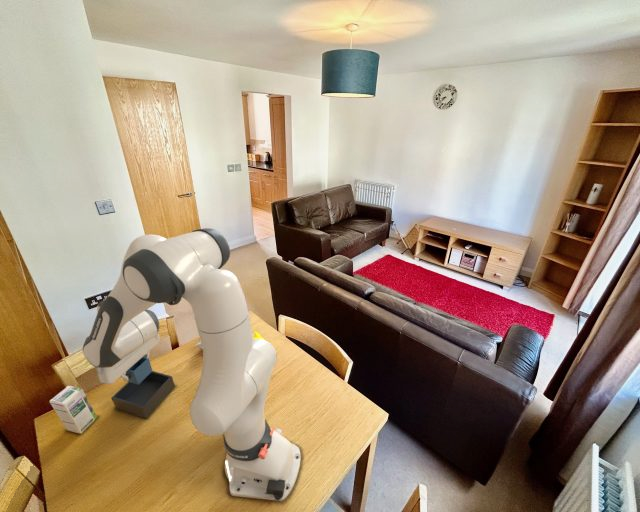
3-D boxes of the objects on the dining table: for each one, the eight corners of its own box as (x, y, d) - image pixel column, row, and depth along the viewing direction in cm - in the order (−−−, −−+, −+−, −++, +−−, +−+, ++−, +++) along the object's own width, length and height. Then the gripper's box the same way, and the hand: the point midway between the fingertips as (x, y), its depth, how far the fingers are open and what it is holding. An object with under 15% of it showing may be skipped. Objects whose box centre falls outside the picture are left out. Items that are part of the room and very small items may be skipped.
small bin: (152, 370, 97) (148, 358, 94) (138, 384, 91) (133, 372, 89) (138, 366, 98) (134, 354, 95) (124, 380, 93) (119, 367, 90)
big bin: (175, 386, 104) (172, 376, 101) (146, 418, 92) (142, 408, 90) (146, 378, 107) (143, 368, 104) (115, 408, 95) (111, 397, 93)
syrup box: (81, 434, 87) (64, 404, 81) (66, 430, 88) (48, 400, 82) (97, 417, 92) (83, 388, 86) (83, 414, 93) (67, 384, 87)
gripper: (102, 366, 78) (116, 399, 84) (158, 322, 96) (166, 351, 102) (85, 361, 79) (100, 393, 85) (143, 318, 97) (152, 348, 103)
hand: (137, 370), depth 94 cm, fingers closed on small bin, 6 cm apart
